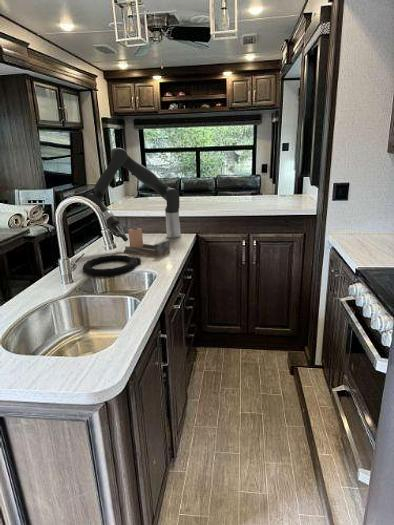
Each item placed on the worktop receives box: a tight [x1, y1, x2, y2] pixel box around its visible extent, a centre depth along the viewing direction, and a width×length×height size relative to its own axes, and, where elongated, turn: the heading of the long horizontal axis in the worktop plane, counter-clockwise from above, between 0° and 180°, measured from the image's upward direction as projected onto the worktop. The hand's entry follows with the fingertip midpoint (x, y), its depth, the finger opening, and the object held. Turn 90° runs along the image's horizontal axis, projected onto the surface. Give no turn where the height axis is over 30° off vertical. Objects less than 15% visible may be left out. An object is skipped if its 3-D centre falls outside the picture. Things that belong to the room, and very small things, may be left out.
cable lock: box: [82, 254, 142, 277], centre depth 183 cm, size 28×4×30 cm
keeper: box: [128, 226, 144, 248], centre depth 209 cm, size 6×5×13 cm
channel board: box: [123, 239, 171, 258], centre depth 207 cm, size 12×25×8 cm, turn 60°
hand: (126, 240), depth 214 cm, fingers closed
